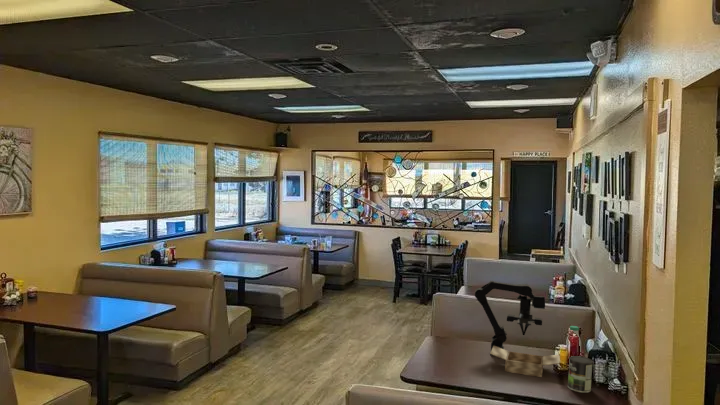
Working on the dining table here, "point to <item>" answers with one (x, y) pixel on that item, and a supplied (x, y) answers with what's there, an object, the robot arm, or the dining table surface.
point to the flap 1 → (499, 352)
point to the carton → (524, 364)
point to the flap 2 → (551, 360)
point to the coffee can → (580, 374)
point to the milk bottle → (575, 330)
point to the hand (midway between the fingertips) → (523, 335)
